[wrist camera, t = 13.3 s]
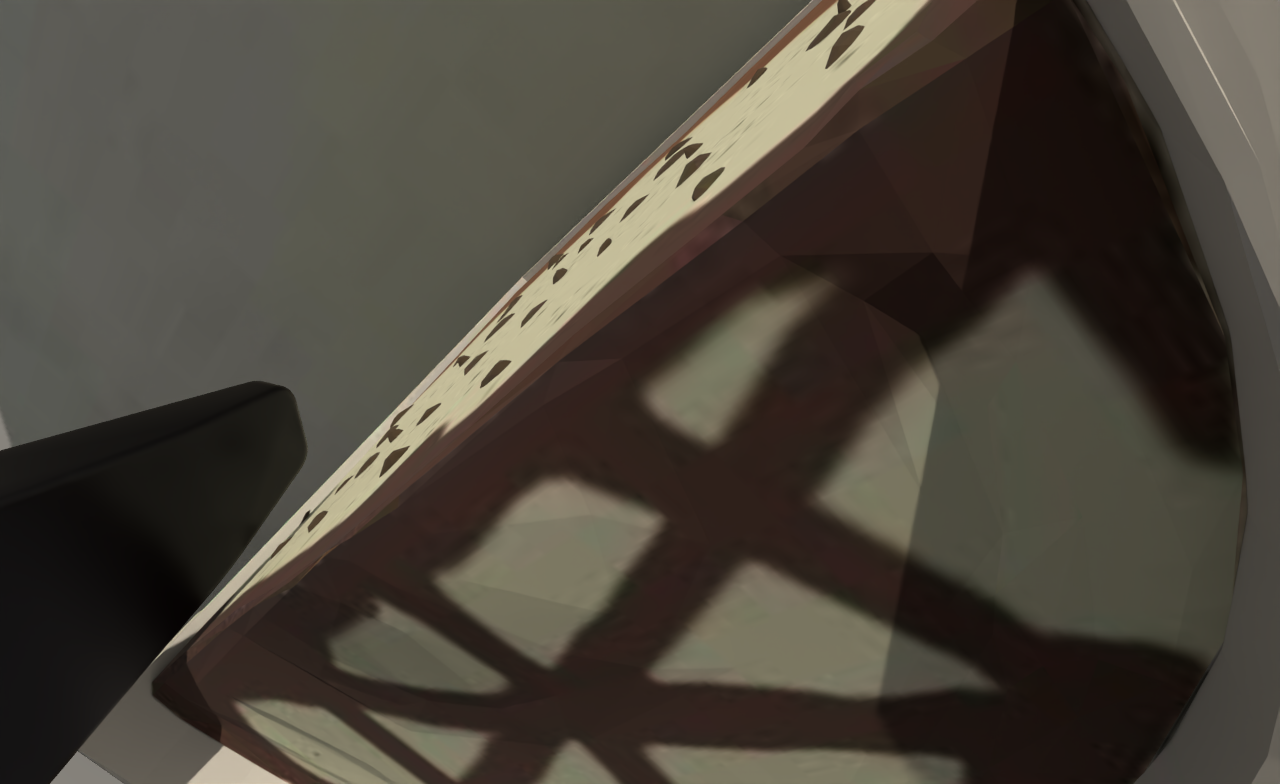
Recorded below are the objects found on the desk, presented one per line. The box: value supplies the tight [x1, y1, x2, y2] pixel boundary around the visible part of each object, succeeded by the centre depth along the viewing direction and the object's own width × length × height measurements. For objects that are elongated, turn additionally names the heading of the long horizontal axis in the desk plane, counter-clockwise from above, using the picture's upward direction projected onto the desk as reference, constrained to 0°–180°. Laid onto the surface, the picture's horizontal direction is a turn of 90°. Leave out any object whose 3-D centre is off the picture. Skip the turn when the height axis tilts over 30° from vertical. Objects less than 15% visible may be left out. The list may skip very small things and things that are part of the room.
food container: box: [78, 0, 1280, 784], centre depth 10 cm, size 12×6×10 cm, turn 135°
